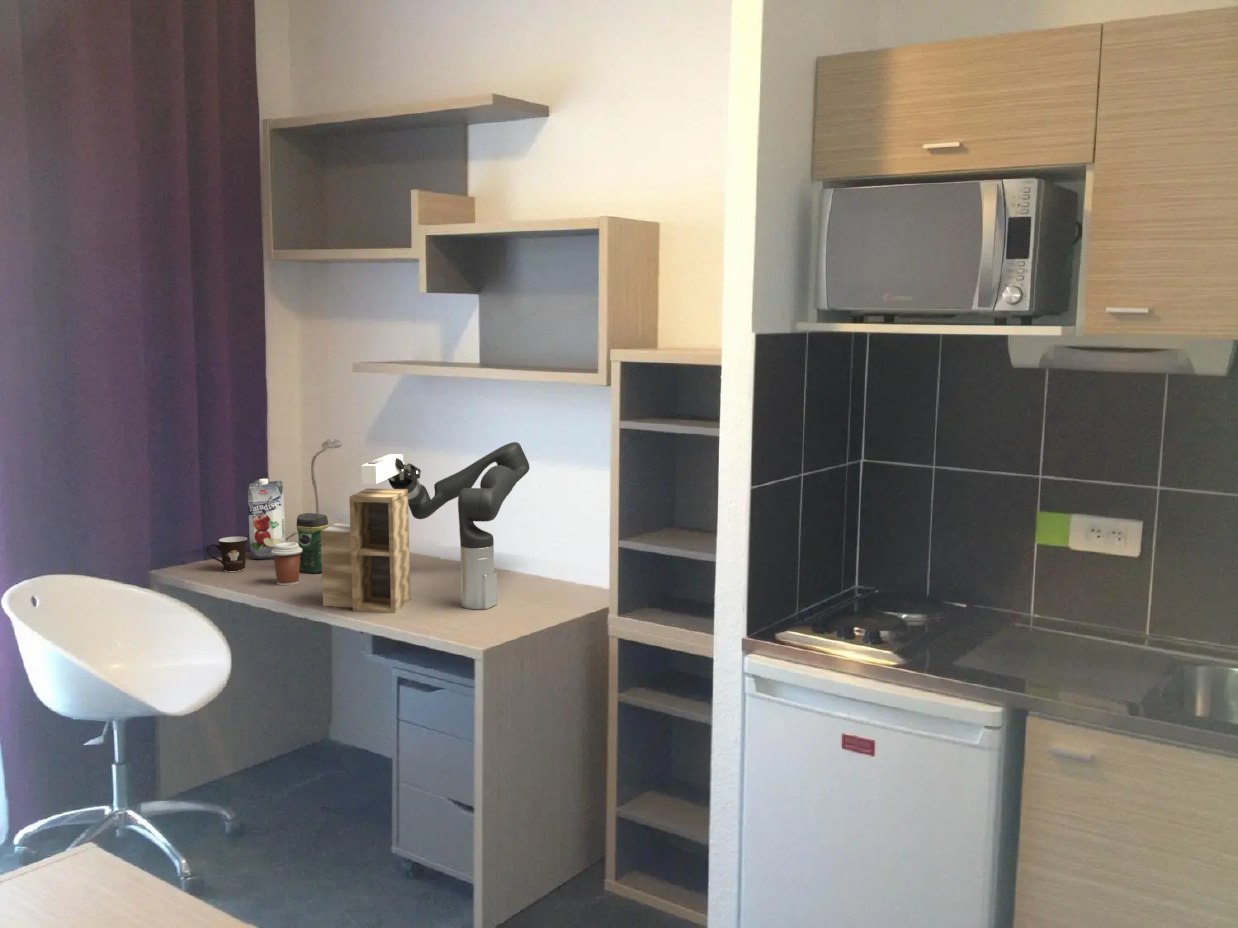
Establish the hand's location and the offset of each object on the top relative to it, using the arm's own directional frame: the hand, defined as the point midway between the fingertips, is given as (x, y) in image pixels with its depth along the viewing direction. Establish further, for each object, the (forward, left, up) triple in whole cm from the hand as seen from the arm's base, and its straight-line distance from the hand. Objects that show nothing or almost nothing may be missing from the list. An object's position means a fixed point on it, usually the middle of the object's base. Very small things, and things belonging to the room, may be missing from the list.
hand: (388, 461), depth 308 cm
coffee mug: (+68, -4, -40) cm, 79 cm away
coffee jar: (+43, -15, -40) cm, 61 cm away
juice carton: (+70, -24, -40) cm, 84 cm away
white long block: (-2, +5, -4) cm, 6 cm away
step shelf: (+2, +9, -40) cm, 41 cm away
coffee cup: (+39, +1, -40) cm, 56 cm away
